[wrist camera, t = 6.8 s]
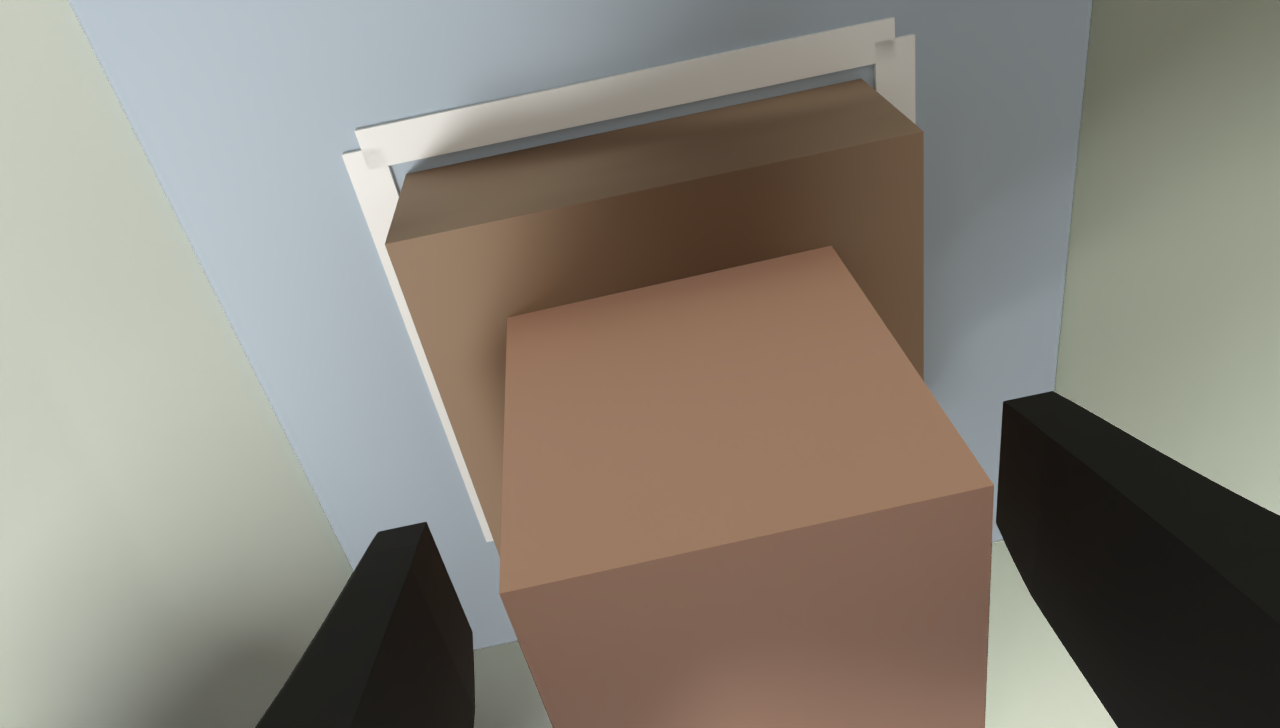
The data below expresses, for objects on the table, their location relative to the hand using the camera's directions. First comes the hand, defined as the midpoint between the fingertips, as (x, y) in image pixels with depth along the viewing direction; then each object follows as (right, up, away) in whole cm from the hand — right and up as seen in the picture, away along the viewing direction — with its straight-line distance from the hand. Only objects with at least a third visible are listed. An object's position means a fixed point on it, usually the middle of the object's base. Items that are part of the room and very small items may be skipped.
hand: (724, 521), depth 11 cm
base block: (-1, +3, +4) cm, 5 cm away
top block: (0, +1, +2) cm, 3 cm away
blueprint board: (-1, +3, +5) cm, 5 cm away
